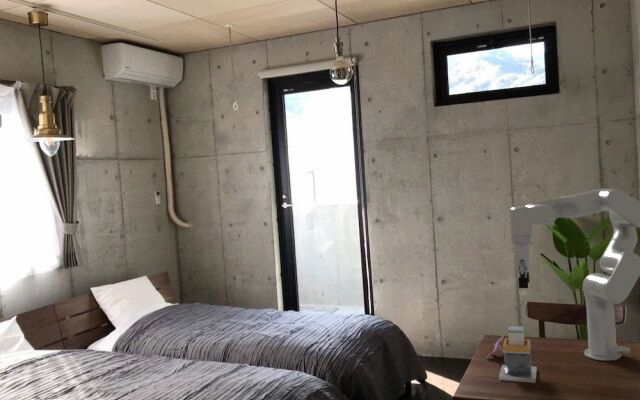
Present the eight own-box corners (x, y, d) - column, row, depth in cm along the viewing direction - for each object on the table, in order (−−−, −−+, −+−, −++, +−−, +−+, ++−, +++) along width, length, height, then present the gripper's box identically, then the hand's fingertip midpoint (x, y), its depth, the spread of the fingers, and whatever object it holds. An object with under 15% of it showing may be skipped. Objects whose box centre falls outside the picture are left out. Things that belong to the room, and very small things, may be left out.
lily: (503, 353, 230) (489, 333, 231) (525, 348, 220) (511, 327, 221) (487, 370, 222) (474, 349, 223) (509, 365, 213) (495, 343, 214)
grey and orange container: (536, 370, 206) (535, 338, 205) (535, 382, 194) (533, 348, 194) (502, 368, 210) (500, 336, 210) (499, 380, 199) (497, 346, 199)
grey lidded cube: (524, 345, 203) (523, 326, 203) (524, 350, 199) (522, 330, 198) (509, 345, 205) (508, 326, 205) (509, 349, 200) (508, 330, 200)
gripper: (512, 236, 218) (515, 280, 219) (509, 243, 203) (511, 290, 203) (533, 236, 216) (535, 280, 216) (531, 242, 200) (534, 290, 200)
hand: (524, 285), depth 210 cm, fingers open, 9 cm apart
